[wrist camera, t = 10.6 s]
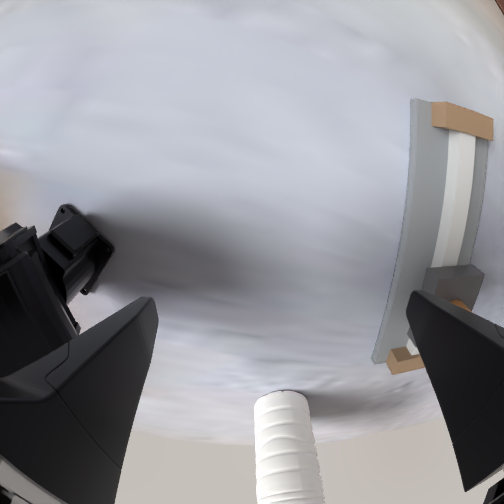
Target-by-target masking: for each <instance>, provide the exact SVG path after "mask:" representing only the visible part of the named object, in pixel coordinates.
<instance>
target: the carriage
mask: <svg viewBox="0 0 504 504" xmlns="http://www.w3.org/2000/svg"><path fill="white" fill-rule="evenodd" d="M484 275H485V274H484V273H482V272H481V271H480V270H479V269H477V268H476V267H475V266H474V265H459V266H446V267H433V268H426V272H425V276H424V280H423V284H422V287H421V290H424V291H426V292H428V293H431V294H433V295H435V296H437V297H439V298H442V299H444V300H446V301H448V302H450V303H452V304H455V305H457V306H459V307H461V308H463V309H465V310H467V311H470V312H472V309H473V307H474V304H475V301H476V299H477V296H478V293H479V290H480V287H481V284H482V281H483V278H484ZM472 313H473V312H472ZM407 335H408V337H409V338H410V340H411V341H412V343H413V344H414V346H415V347H417V346H416V343H415V340H414V337H413V334H412V331H411V328H410V327H409V329H408V332H407Z"/></svg>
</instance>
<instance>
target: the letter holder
mask: <svg viewBox="0 0 504 504" xmlns="http://www.w3.org/2000/svg"><path fill="white" fill-rule="evenodd" d="M495 1H496V3H497V4H498V6H499V8H500V9H501V11H502V13H503V15H504V0H495Z"/></svg>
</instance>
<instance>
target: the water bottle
mask: <svg viewBox="0 0 504 504" xmlns="http://www.w3.org/2000/svg"><path fill="white" fill-rule="evenodd" d="M254 421H255V437H256V439H255V451H256V465H257V466H256V478H257V484H256V492H257V500H258V502H257V504H325V501H324V494H323V484H322V478H321V476H320V467H319V462H318V459H317V450H316V447H315V445H314V443H315V439H314V434H313V432H312V422H311V419H310V411H309V406H308V402H307V399H306V398H305V397H304V396H303V395H302V394H298V393H297V392H294V391H284V392H282V391H276V392H272V393H269V394H268V395H267V396H266V395H264V396H262V397H261V398H260V399H258V400H257V402H256V404H255V406H254Z"/></svg>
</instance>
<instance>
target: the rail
mask: <svg viewBox="0 0 504 504" xmlns="http://www.w3.org/2000/svg"><path fill="white" fill-rule="evenodd" d="M410 104H411V132H410V158H409V173H408V185H407V195H406V204H405V212H404V219H403V226H402V233H401V239H400V245H399V251H398V256H397V261H396V266H395V271H394V276H393V281H392V285H391V289H390V294H389V298H388V302H387V306H386V310H385V314H384V317H383V321H382V325H381V328H380V332H379V335H378V338H377V342H376V345H375V348H374V351H373V354H372V357H371V359H372V361H373V363H374V364H379V363H385V362H386V363H387V365H388V367H389V369H390V371H391V374H392V375H394V374H399V373H403V372H408V371H412V370H416V369H420V368H424V367H425V366H424V363H423V361H422V359H421V356H420V354H419V352H418V349H417V347H415V346H414V344H413V343H412V341H411V340H410V338H409V337H408V335H407V332H408V329H409V327H410V326H409V323H408V320H407V317H406V308H407V304H408V301H409V298H410V294H411V292H412V291H413V290H421V287H422V284H423V280H424V276H425V272H426V268H433V267H446V266H459V265H469V262H470V259H471V255H472V251H473V247H474V243H475V238H476V234H477V229H478V224H479V218H480V213H481V207H482V201H483V194H484V186H485V177H486V167H487V153H488V140H489V141H493V119H492V118H490V117H488V116H485V115H483V114H480V113H477V112H475V111H472V110H469V109H466V108H464V107H461V106H458V105H455V104H452V103H448V102H428V101H424V100H420V99H410Z"/></svg>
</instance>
